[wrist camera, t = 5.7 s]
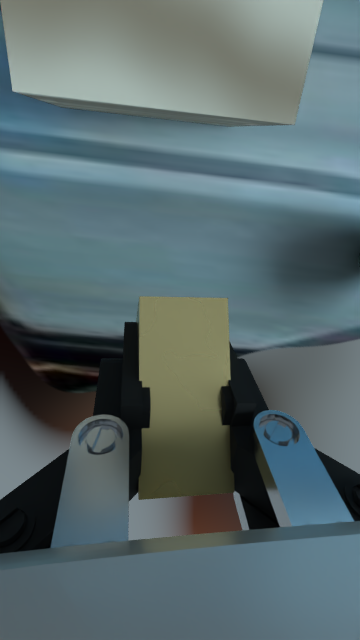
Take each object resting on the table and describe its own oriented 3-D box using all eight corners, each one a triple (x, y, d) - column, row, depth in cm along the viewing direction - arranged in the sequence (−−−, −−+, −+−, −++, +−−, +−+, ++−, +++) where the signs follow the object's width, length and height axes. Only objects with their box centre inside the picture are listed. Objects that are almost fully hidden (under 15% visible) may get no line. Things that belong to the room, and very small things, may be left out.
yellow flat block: (190, 438, 14) (234, 492, 8) (134, 441, 14) (138, 499, 8) (188, 324, 15) (227, 298, 9) (135, 324, 14) (139, 296, 8)
